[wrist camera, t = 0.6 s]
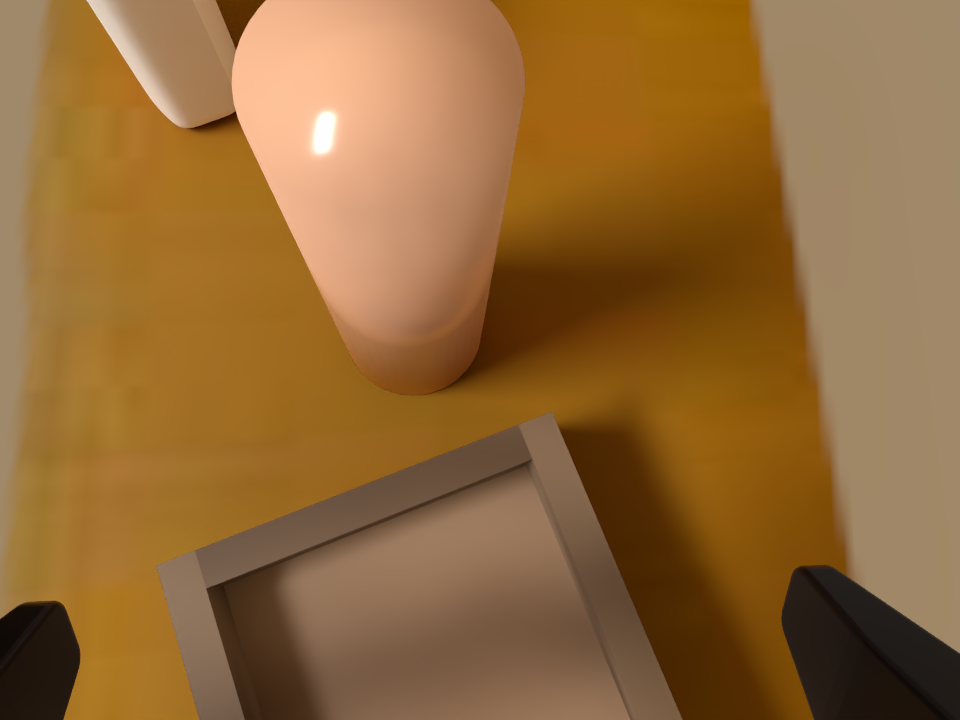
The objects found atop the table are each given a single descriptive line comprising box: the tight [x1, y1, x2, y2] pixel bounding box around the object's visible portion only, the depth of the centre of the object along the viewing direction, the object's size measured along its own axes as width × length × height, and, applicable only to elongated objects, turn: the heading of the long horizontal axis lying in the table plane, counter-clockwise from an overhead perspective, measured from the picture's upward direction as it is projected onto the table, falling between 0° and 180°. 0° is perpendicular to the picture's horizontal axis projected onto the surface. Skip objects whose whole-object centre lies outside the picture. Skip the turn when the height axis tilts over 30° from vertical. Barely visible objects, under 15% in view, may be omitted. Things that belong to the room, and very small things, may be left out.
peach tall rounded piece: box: [232, 0, 525, 395], centre depth 17 cm, size 4×4×13 cm
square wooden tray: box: [157, 412, 682, 720], centre depth 19 cm, size 11×11×3 cm
